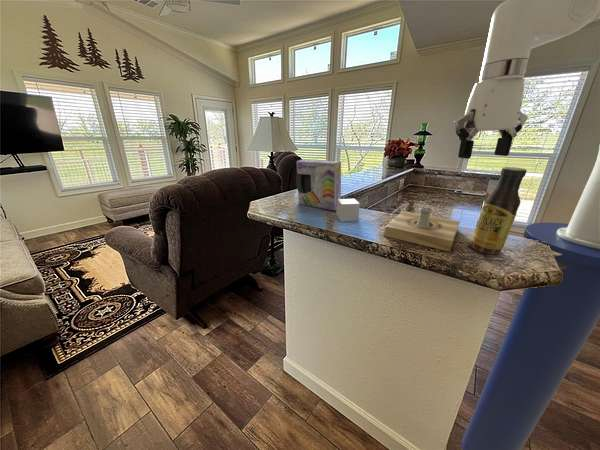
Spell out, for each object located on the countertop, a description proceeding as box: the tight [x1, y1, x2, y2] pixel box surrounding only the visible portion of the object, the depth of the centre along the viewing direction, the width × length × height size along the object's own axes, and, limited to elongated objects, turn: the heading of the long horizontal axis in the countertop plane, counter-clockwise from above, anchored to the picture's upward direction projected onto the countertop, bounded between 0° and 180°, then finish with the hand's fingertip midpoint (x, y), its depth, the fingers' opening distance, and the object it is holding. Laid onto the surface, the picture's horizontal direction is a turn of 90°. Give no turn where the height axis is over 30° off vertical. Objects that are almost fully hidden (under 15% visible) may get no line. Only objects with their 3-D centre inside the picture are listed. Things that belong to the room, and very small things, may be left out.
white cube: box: [335, 197, 361, 222], centre depth 79 cm, size 6×6×6 cm
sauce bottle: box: [470, 166, 528, 255], centre depth 54 cm, size 7×6×20 cm
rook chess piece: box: [416, 205, 433, 227], centre depth 66 cm, size 4×4×8 cm
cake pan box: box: [295, 158, 342, 212], centre depth 90 cm, size 19×5×18 cm, turn 48°
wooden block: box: [384, 210, 461, 253], centre depth 67 cm, size 16×16×3 cm
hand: (482, 156), depth 56 cm, fingers open, 9 cm apart
